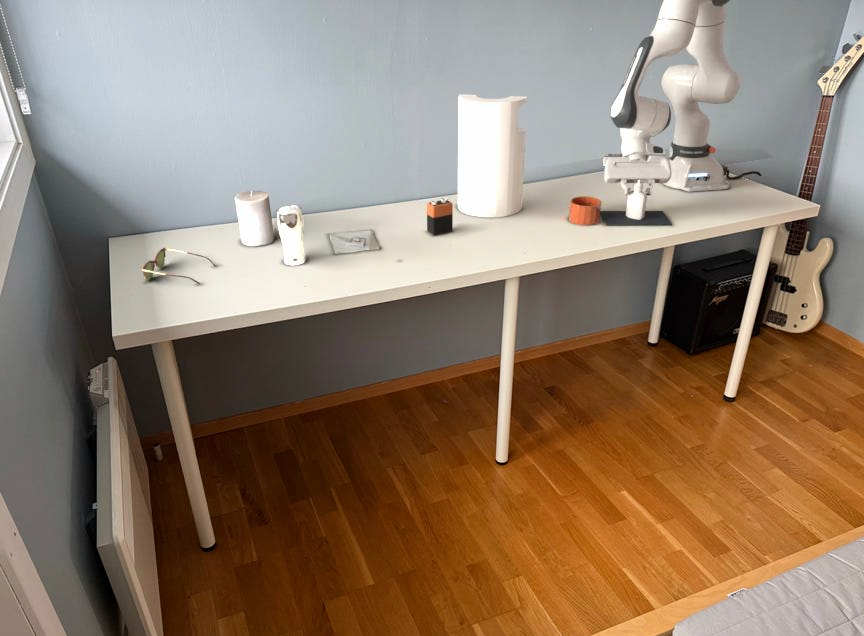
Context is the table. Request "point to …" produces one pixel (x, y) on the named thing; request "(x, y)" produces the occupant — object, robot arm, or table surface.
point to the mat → (622, 220)
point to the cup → (585, 210)
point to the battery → (439, 217)
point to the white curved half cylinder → (490, 156)
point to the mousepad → (353, 241)
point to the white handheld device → (291, 233)
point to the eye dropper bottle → (636, 202)
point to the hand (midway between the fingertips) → (638, 194)
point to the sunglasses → (162, 264)
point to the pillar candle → (254, 218)
